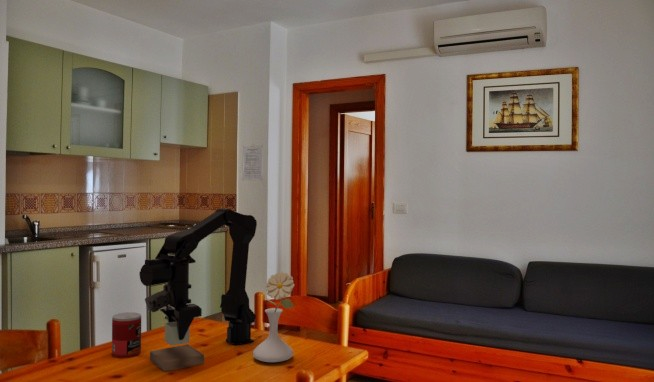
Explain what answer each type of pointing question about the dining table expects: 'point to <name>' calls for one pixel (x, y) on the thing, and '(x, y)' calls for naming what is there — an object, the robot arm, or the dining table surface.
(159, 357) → the base
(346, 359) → the dining table surface
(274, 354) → the flower in vase
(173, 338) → the cube
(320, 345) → the dining table surface
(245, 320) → the robot arm
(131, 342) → the canned food
